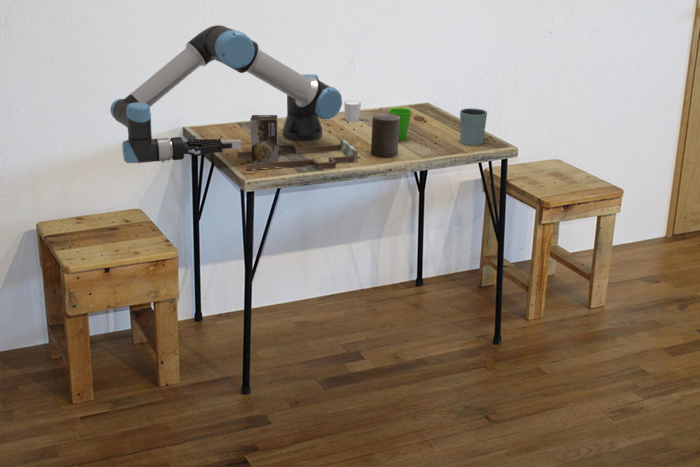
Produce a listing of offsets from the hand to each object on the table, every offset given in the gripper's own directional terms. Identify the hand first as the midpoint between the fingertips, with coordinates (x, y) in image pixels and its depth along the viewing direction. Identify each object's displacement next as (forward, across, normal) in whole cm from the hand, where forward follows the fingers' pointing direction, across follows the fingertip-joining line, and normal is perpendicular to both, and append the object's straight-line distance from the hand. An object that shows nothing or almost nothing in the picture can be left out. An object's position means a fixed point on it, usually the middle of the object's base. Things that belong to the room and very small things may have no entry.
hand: (240, 143), depth 309 cm
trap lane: (+20, 0, -7) cm, 21 cm away
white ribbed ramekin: (+57, -46, -8) cm, 74 cm away
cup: (+65, -15, -8) cm, 67 cm away
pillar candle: (+53, +1, -8) cm, 53 cm away
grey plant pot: (+90, -4, -8) cm, 90 cm away
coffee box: (+9, 0, -8) cm, 11 cm away
